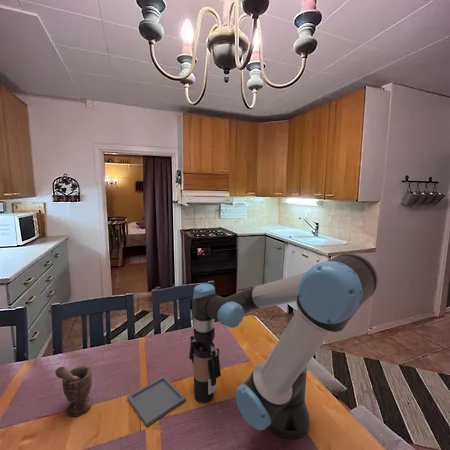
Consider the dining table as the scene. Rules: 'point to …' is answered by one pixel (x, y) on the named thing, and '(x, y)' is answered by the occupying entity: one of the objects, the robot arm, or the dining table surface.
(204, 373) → the travel mug
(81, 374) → the mortar and pestle
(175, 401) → the slate tray
